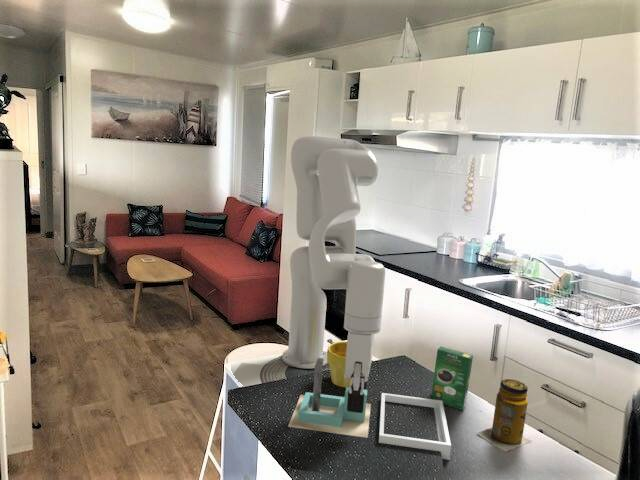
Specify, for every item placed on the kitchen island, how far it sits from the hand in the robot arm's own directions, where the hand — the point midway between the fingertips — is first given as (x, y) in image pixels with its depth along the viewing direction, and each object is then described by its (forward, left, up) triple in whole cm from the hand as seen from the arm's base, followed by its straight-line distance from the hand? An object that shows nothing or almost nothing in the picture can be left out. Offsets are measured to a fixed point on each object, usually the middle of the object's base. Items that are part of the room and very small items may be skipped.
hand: (356, 400), depth 104 cm
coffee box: (-15, +21, -6) cm, 27 cm away
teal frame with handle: (0, -5, -4) cm, 6 cm away
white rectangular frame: (-1, +12, -6) cm, 13 cm away
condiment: (-3, +31, -6) cm, 32 cm away
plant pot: (-17, -4, -6) cm, 19 cm away
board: (0, -5, -6) cm, 8 cm away
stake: (-1, -9, -4) cm, 9 cm away
